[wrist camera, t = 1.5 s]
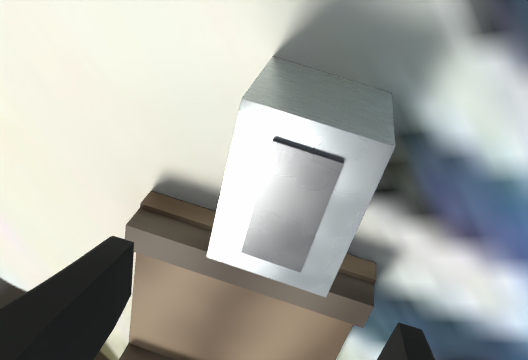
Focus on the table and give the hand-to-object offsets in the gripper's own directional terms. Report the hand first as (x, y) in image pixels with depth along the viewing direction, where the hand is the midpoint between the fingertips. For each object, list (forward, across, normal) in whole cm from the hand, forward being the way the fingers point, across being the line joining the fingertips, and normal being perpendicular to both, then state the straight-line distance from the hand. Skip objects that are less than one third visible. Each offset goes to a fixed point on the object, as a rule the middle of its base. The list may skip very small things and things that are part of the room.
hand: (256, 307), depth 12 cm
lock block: (+10, 0, 0) cm, 10 cm away
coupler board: (+10, +1, +12) cm, 15 cm away
